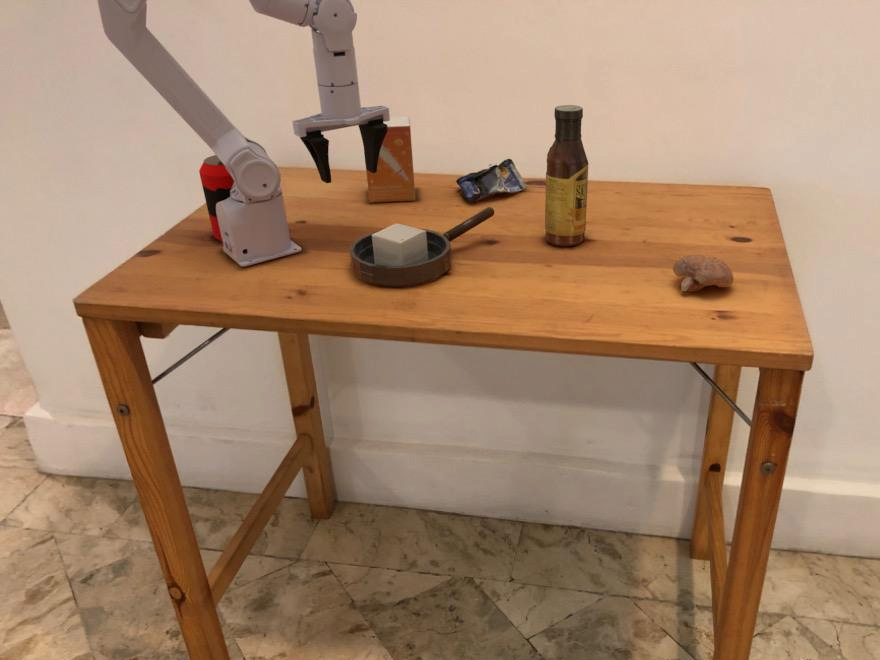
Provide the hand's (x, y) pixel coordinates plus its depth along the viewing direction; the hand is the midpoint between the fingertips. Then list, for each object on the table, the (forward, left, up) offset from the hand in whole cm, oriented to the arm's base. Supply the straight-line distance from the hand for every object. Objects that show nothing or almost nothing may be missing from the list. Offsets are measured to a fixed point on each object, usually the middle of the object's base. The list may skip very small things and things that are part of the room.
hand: (349, 176), depth 120 cm
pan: (-1, -15, -9) cm, 18 cm away
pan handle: (+11, -15, -8) cm, 20 cm away
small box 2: (-1, -15, -9) cm, 18 cm away
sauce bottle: (+24, -22, -10) cm, 34 cm away
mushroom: (+28, -46, -10) cm, 55 cm away
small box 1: (+13, +12, -10) cm, 20 cm away
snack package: (+27, +2, -10) cm, 29 cm away
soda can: (-15, +12, -10) cm, 21 cm away
